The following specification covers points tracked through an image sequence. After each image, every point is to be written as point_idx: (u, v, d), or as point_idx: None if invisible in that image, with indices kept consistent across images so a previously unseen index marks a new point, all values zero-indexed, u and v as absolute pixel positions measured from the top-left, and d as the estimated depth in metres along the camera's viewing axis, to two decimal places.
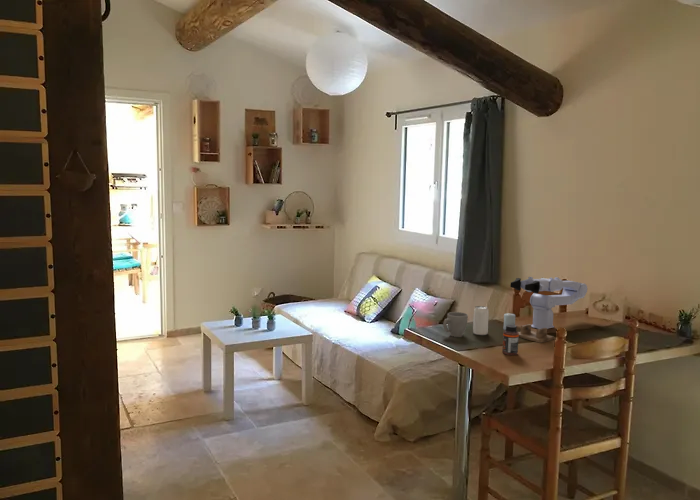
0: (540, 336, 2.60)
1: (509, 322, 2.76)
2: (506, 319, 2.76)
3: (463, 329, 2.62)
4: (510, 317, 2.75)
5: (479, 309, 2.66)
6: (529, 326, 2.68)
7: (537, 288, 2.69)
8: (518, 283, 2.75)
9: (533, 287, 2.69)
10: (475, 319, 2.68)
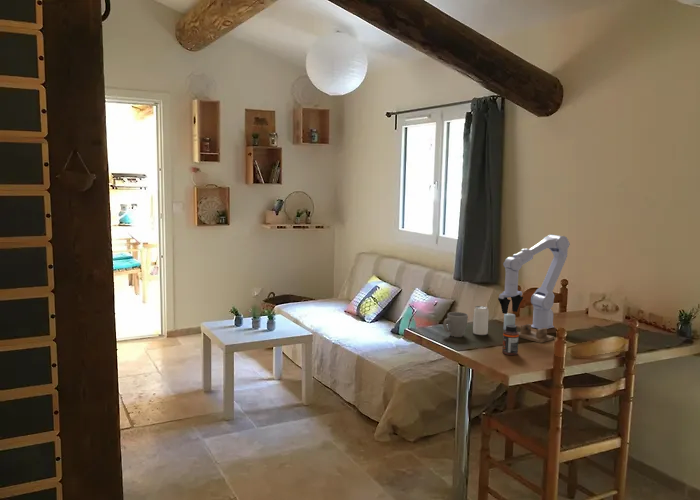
0: (540, 336, 2.60)
1: (509, 322, 2.76)
2: (506, 319, 2.76)
3: (463, 329, 2.62)
4: (510, 317, 2.75)
5: (479, 309, 2.66)
6: (529, 326, 2.68)
7: (503, 300, 2.73)
8: (514, 300, 2.79)
9: (504, 302, 2.74)
10: (475, 319, 2.68)
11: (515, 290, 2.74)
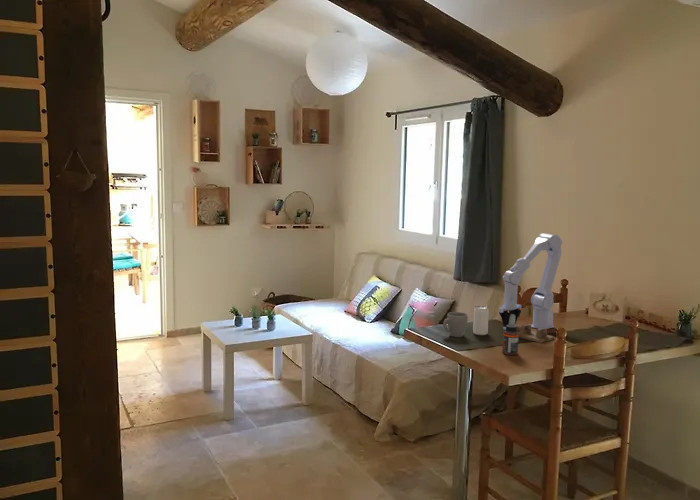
0: (540, 336, 2.60)
1: (509, 322, 2.76)
2: None
3: (463, 329, 2.62)
4: (510, 317, 2.75)
5: (479, 309, 2.66)
6: (529, 326, 2.68)
7: (504, 313, 2.74)
8: (512, 313, 2.80)
9: (505, 315, 2.75)
10: (475, 319, 2.68)
11: (514, 304, 2.74)
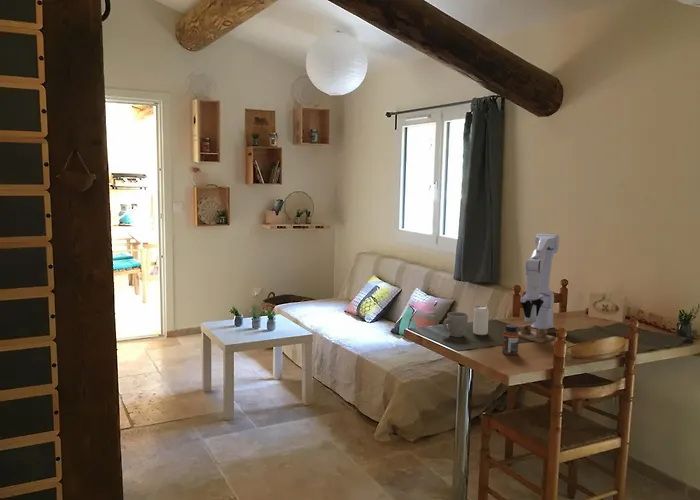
0: (540, 336, 2.60)
1: None
2: None
3: (463, 329, 2.62)
4: None
5: (479, 309, 2.66)
6: (529, 326, 2.68)
7: (526, 303, 2.61)
8: (534, 304, 2.67)
9: (527, 305, 2.63)
10: (475, 319, 2.68)
11: (537, 293, 2.62)
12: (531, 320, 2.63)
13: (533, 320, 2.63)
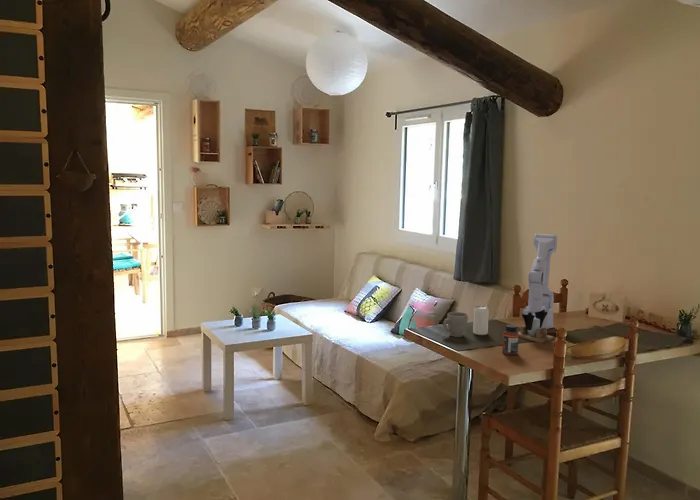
0: (540, 336, 2.60)
1: (533, 327, 2.62)
2: None
3: (463, 329, 2.62)
4: (534, 322, 2.62)
5: (479, 309, 2.66)
6: None
7: (527, 316, 2.60)
8: (538, 315, 2.67)
9: (528, 318, 2.61)
10: (475, 319, 2.68)
11: (539, 305, 2.61)
12: (534, 334, 2.62)
13: None
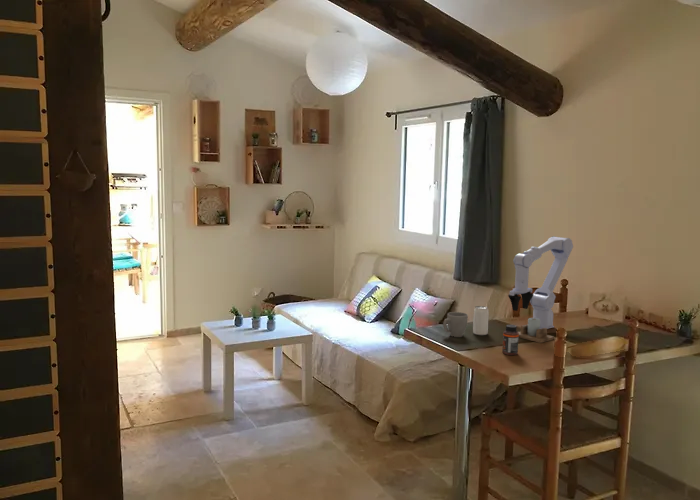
0: (540, 336, 2.60)
1: (533, 327, 2.62)
2: (530, 324, 2.63)
3: (463, 329, 2.62)
4: (534, 322, 2.62)
5: (479, 309, 2.66)
6: None
7: (514, 297, 2.71)
8: (524, 297, 2.77)
9: (515, 299, 2.72)
10: (475, 319, 2.68)
11: (525, 287, 2.72)
12: (534, 334, 2.62)
13: None
